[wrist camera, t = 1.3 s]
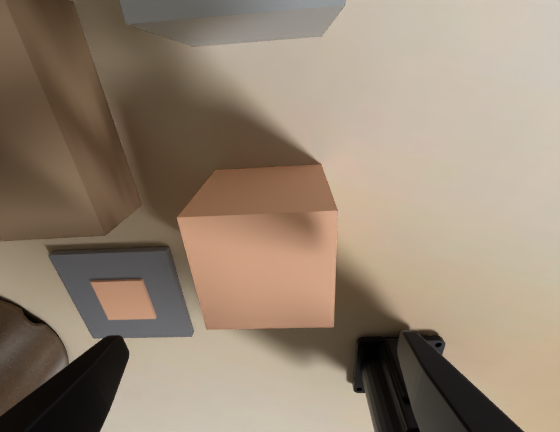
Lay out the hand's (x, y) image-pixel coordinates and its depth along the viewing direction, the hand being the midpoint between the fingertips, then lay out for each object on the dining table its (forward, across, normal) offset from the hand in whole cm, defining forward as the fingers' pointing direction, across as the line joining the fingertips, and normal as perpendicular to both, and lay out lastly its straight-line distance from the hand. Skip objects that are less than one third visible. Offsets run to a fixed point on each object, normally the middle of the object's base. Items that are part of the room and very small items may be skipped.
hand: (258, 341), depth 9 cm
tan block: (+9, +13, -6) cm, 17 cm away
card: (+9, +11, +6) cm, 15 cm away
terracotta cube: (+9, 0, 0) cm, 9 cm away
